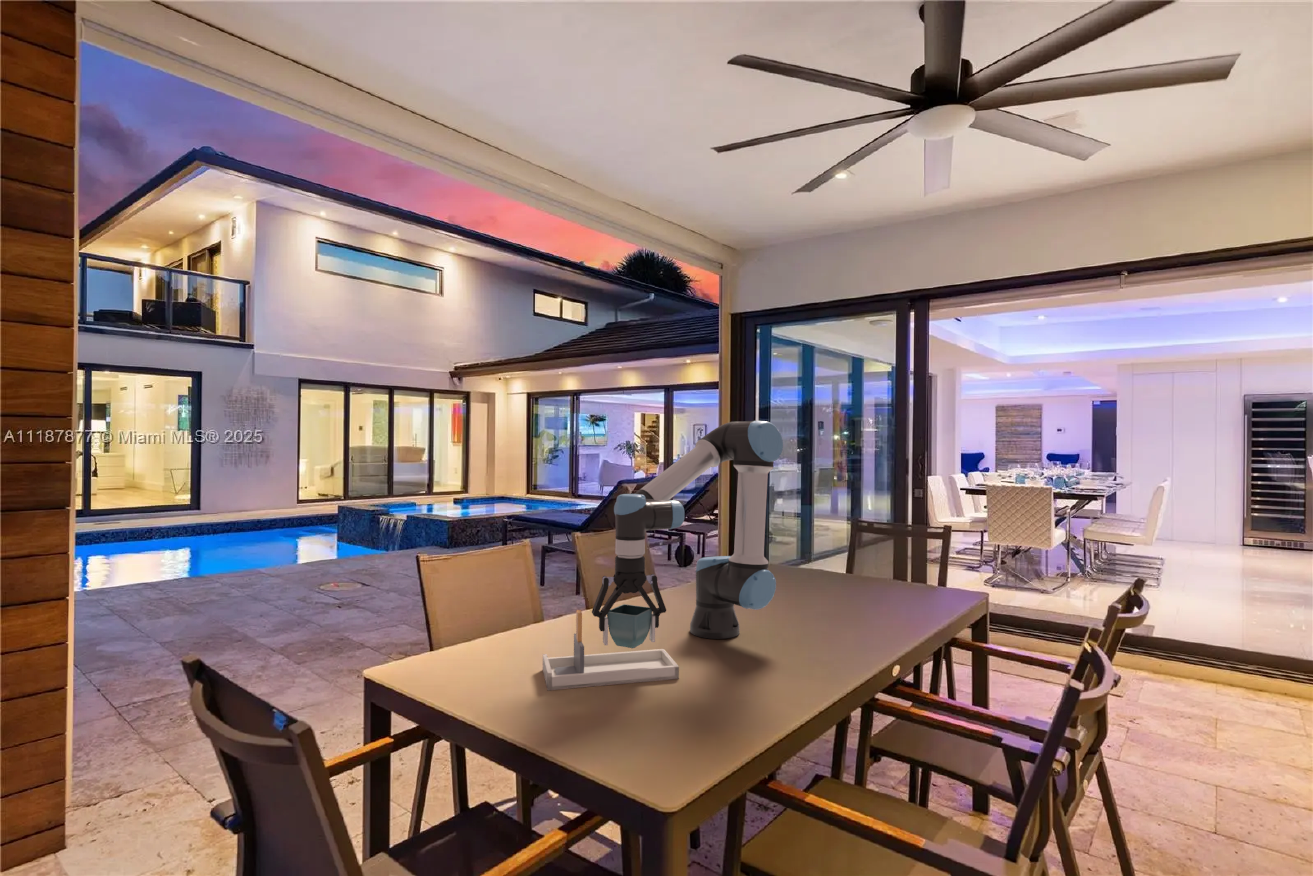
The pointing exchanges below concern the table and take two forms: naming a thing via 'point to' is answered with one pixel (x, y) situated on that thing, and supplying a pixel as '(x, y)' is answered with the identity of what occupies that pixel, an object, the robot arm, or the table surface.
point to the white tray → (611, 669)
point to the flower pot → (629, 624)
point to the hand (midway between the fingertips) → (628, 642)
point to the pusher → (575, 651)
